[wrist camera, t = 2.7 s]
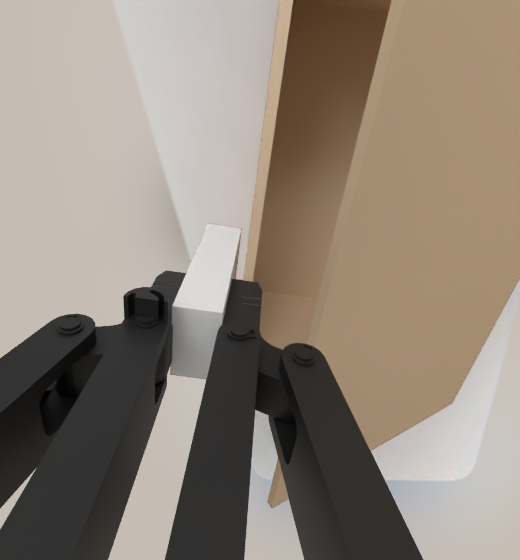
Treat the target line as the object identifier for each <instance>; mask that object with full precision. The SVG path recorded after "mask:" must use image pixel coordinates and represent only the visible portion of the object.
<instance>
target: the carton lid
mask: <svg viewBox="0 0 520 560" xmlns="http://www.w3.org/2000/svg"><path fill="white" fill-rule="evenodd" d="M519 279H520V0H392V1H391V5H390V9H389V13H388V17H387V21H386V25H385V29H384V33H383V37H382V41H381V45H380V49H379V53H378V58H377V62H376V66H375V70H374V74H373V78H372V82H371V86H370V90H369V94H368V98H367V102H366V106H365V110H364V114H363V118H362V122H361V126H360V130H359V134H358V138H357V142H356V146H355V150H354V154H353V158H352V162H351V167H350V171H349V175H348V179H347V183H346V187H345V191H344V195H343V199H342V203H341V207H340V211H339V215H338V219H337V223H336V227H335V231H334V235H333V239H332V243H331V247H330V251H329V255H328V259H327V263H326V267H325V271H324V276H323V280H322V284H321V288H320V292H319V296H318V300H317V304H316V308H315V312H314V316H313V320H312V324H311V328H310V332H309V336H308V340H307V344H308V345H311V346H314V347H315V348H317V349H318V350H320V351H321V352H322V354H323V355H324V356H325V358H326V360H327V362H328V364H329V366H330V369H331V371H332V373H333V375H334V377H335V379H336V381H337V383H338V385H339V387H340V389H341V391H342V393H343V395H344V397H345V399H346V402H347V404H348V406H349V408H350V410H351V412H352V414H353V416H354V418H355V420H356V422H357V424H358V426H359V428H360V430H361V432H362V435H363V437H364V439H365V441H366V443H367V445H368V447H369V449H370V451H371V450H373V449H375V448H377V447H378V446H380V445H382V444H383V443H385V442H387V441H389V440H390V439H392V438H394V437H395V436H397V435H399V434H401V433H402V432H404V431H406V430H407V429H409V428H411V427H413V426H414V425H416V424H418V423H419V422H421V421H423V420H425V419H426V418H428V417H430V416H431V415H433V414H435V413H437V412H438V411H440V410H442V409H444V408H445V407H447V406H449V405H450V404H452V403H453V401H454V399H455V397H456V395H457V393H458V392H459V390H460V388H461V386H462V384H463V382H464V380H465V379H466V377H467V375H468V373H469V371H470V369H471V368H472V366H473V364H474V362H475V360H476V358H477V356H478V355H479V353H480V351H481V349H482V347H483V345H484V343H485V342H486V340H487V338H488V336H489V334H490V332H491V330H492V329H493V327H494V325H495V323H496V321H497V319H498V318H499V316H500V314H501V312H502V310H503V308H504V306H505V305H506V303H507V301H508V299H509V297H510V295H511V293H512V292H513V290H514V288H515V286H516V284H517V282H518V281H519ZM287 499H289V497H288V493H287V489H286V486H285V482H284V478H283V474H282V470H281V466H280V462H279V458H278V461H277V465H276V469H275V473H274V477H273V481H272V486H271V490H270V494H269V498H268V503H269V505H270V507H271V508H274V507H275V506H277V505H279V504H280V503H282V502H284V501H286V500H287Z"/></svg>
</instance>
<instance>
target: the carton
mask: <svg viewBox="0 0 520 560" xmlns="http://www.w3.org/2000/svg"><path fill="white" fill-rule="evenodd" d="M391 1H392V0H280V1H279V8H278V16H277V24H276V32H275V39H274V47H273V55H272V62H271V70H270V78H269V85H268V93H267V101H266V109H265V116H264V124H263V132H262V139H261V147H260V155H259V162H258V170H257V178H256V186H255V193H254V201H253V209H252V216H251V224H250V232H249V240H248V247H247V255H246V263H245V270H244V278H243V280H244V281H251V282H258V284H259V285H260V287H261V289H262V303H261V317H260V334H261V336H262V338H263V339H264V340H265V341H266V342H268V343H269V344H270V345H273V346H275V347H277V348H280V349H282V350H283V349H284V347H286V346H288V345H289V344H293V343H304V344H307V340H308V336H309V332H310V328H311V324H312V320H313V316H314V312H315V308H316V304H317V300H318V296H319V292H320V288H321V284H322V280H323V276H324V271H325V267H326V263H327V259H328V255H329V251H330V247H331V243H332V239H333V235H334V231H335V227H336V223H337V219H338V215H339V211H340V207H341V203H342V199H343V195H344V191H345V187H346V183H347V179H348V175H349V171H350V167H351V162H352V158H353V154H354V150H355V146H356V142H357V138H358V134H359V130H360V126H361V122H362V118H363V114H364V110H365V106H366V102H367V98H368V94H369V90H370V86H371V82H372V78H373V74H374V70H375V66H376V62H377V58H378V53H379V49H380V45H381V41H382V37H383V33H384V29H385V25H386V21H387V17H388V13H389V9H390V5H391Z"/></svg>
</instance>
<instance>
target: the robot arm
mask: <svg viewBox="0 0 520 560" xmlns="http://www.w3.org/2000/svg"><path fill="white" fill-rule="evenodd" d="M241 229H242V228H236V227H229V226H222V225H215V224H207V227H206V229H205V231H204V234H203V236H202V238H201V241H200V243H199V245H198V248H197V250H196V252H195V254H194V257H193V259H192V261H191V264H190V266H189V268H188V271H187V273H180V272H173V271H165V272H163V273H162V274H160V275H159V276H157V277H156V279H155V281H154V283H153V286H152V287H142V288H136V289H133V290H131V291H129V292H127V293H126V294H125V295H124V317H125V319H124V321H123V322H122V324H118V325H114V326H102V327H95V322H94V321H93V319H92V318H90V317H88V316H86V315H80V314H70V315H64V316H60V317H58V318H56V319H54V320H52V321H50V322H49V323H48V324H46V325H45V326H44V327H42V328H41V329H40V330H38V331H37V332H35V333H34V334H33V335H31V336H30V337H29V338H27V339H26V340H25V341H24V342H22V343H21V344H19V345H18V346H17V347H15V348H14V349H12V350H11V351H10V352H8V353H7V354H6V355H4V356H3V357H2V358H0V508H1V507H2V506H3V505H4V504H5V502H6V501H7V500H8V499H9V498H10V497H11V496H12V495H13V493H14V492H15V491H16V490H17V489H18V488H19V487H20V485H21V484H22V483H23V482H24V481H25V480H26V479H27V478H28V477H29V475H30V474H31V473H32V472H33V471H34V470H35V469H36V470H35V472H34V474H33V475H32V477H31V479H30V480H29V482H28V484H27V486H26V487H25V489H24V490H23V492H22V494H21V496H20V497H19V499H18V501H17V502H16V504H15V506H14V507H13V509H12V511H11V513H10V514H9V516H8V518H7V520H6V521H5V523H4V524H3V526H2V528H1V529H0V560H108V558H109V555H110V552H111V549H112V546H113V543H114V540H115V537H116V534H117V531H118V528H119V525H120V522H121V519H122V516H123V513H124V510H125V507H126V505H127V502H128V498H129V495H130V493H131V490H132V487H133V484H134V481H135V478H136V475H137V472H138V469H139V466H140V463H141V460H142V457H143V454H144V451H145V448H146V446H147V443H148V440H149V437H150V434H151V431H152V428H153V425H154V422H155V419H156V416H157V413H158V410H159V407H160V404H161V401H162V398H163V396H164V393H165V389H166V386H167V373H168V370H169V367H170V365H171V369H170V374H171V375H177V376H186V377H193V378H200V379H207V380H206V384H205V388H204V393H203V398H202V401H201V406H200V410H199V414H198V419H197V423H196V428H195V432H194V436H193V441H192V445H191V449H190V453H189V458H188V462H187V467H186V471H185V475H184V480H183V484H182V488H181V493H180V497H179V501H178V505H177V510H176V514H175V518H174V523H173V527H172V531H171V536H170V540H169V544H168V549H167V553H166V557H165V560H244V553H245V539H246V526H247V512H248V499H249V485H250V471H251V458H252V444H253V430H254V417H255V410H257V411H260V412H262V413H265V414H267V415H269V423H270V427H271V431H272V435H273V439H274V443H275V447H276V450H277V454H278V458H279V462H280V466H281V470H282V474H283V478H284V482H285V486H286V489H287V493H288V497H289V501H290V505H291V509H292V513H293V516H294V521H295V525H296V528H297V532H298V536H299V540H300V544H301V548H302V551H303V556H304V560H423V558H422V556H421V554H420V552H419V550H418V548H417V546H416V544H415V542H414V540H413V538H412V536H411V534H410V532H409V529H408V527H407V525H406V523H405V521H404V519H403V517H402V515H401V513H400V511H399V509H398V507H397V505H396V503H395V500H394V498H393V496H392V494H391V492H390V491H389V488H388V486H387V484H386V482H385V480H384V478H383V476H382V474H381V472H380V470H379V468H378V465H377V463H376V461H375V459H374V457H373V455H372V453H371V451H370V449H369V447H368V445H367V443H366V441H365V439H364V437H363V435H362V432H361V430H360V428H359V426H358V424H357V422H356V420H355V418H354V416H353V414H352V412H351V410H350V408H349V406H348V404H347V402H346V399H345V397H344V395H343V393H342V391H341V389H340V387H339V385H338V383H337V381H336V379H335V377H334V375H333V373H332V371H331V369H330V366H329V364H328V362H327V360H326V358H325V356H324V355H323V354H322V352H321V351H320V350H318V349H317V348H315V347H314V346H311V345H308V344H304V343H293V344H289V345H288V346H286V347H284V349H283V350H282V349H280V348H277V347H275V346H273V345H270V344H269V343H268V342H266V341H265V340H264V339H263V338H262V336H261V334H260V317H261V303H262V289H261V287H260V285H259V284H258V282H251V281H244V280H237V279H236V271H237V263H238V254H239V246H240V238H241ZM37 466H38V467H37Z"/></svg>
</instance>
